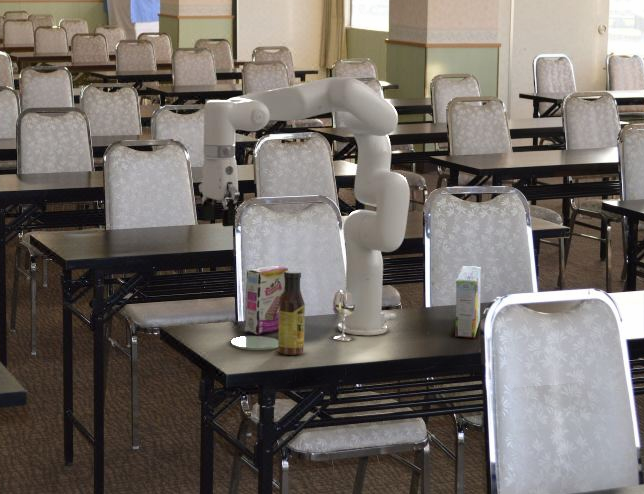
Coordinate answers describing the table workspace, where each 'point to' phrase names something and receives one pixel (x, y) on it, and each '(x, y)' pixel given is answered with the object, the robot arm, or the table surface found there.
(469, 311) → the snack box
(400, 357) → the table surface
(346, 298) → the wineglass
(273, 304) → the candy bar box
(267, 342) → the coaster
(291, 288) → the sauce bottle
